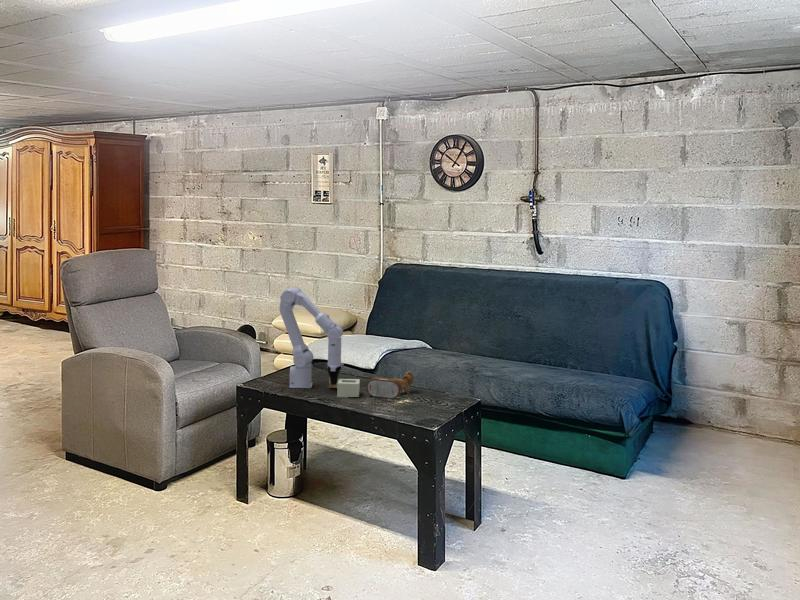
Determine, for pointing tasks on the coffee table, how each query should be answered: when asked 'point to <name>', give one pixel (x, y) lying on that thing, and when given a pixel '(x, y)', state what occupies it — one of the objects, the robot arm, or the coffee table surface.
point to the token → (333, 385)
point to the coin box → (348, 388)
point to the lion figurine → (406, 381)
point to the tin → (384, 388)
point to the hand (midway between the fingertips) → (333, 383)
